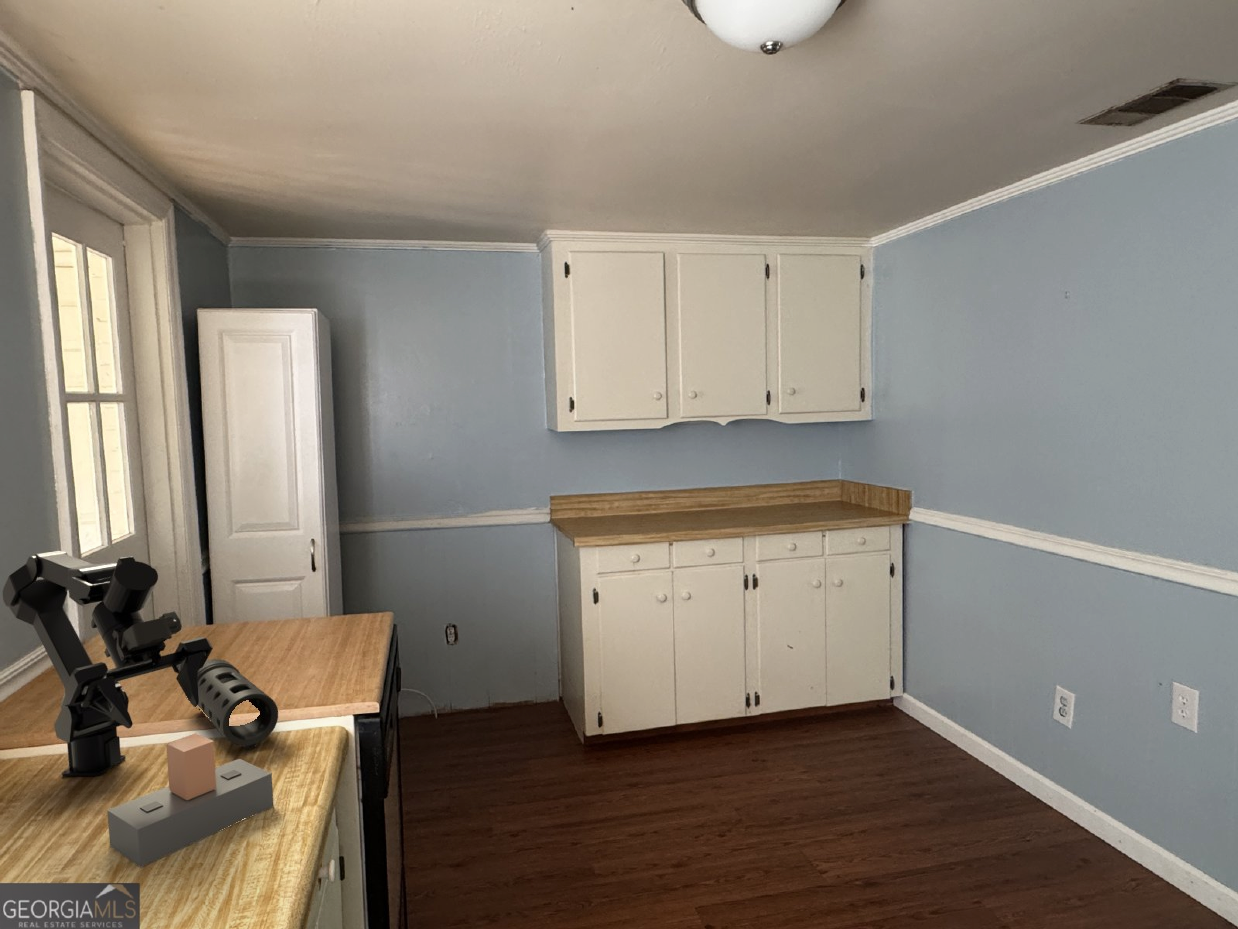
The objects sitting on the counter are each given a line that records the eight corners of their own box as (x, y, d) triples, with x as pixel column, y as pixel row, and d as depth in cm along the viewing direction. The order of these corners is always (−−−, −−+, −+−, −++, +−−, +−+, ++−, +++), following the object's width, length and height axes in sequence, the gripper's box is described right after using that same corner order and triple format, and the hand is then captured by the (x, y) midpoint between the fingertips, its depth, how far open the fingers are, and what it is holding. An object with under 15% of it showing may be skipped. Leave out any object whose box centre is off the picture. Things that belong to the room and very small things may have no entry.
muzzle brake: (223, 760, 128) (219, 700, 128) (183, 714, 149) (179, 662, 149) (282, 743, 135) (278, 685, 134) (235, 701, 156) (232, 651, 155)
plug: (171, 819, 107) (166, 743, 107) (200, 807, 111) (195, 733, 110) (188, 830, 104) (183, 752, 104) (218, 817, 108) (213, 741, 107)
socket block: (109, 846, 103) (107, 808, 103) (241, 790, 118) (238, 757, 117) (140, 867, 98) (137, 828, 97) (273, 806, 112) (271, 772, 112)
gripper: (66, 613, 106) (108, 705, 101) (202, 586, 122) (245, 665, 116) (48, 660, 111) (87, 751, 106) (180, 629, 127) (221, 706, 121)
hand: (164, 715), depth 112 cm, fingers open, 9 cm apart
